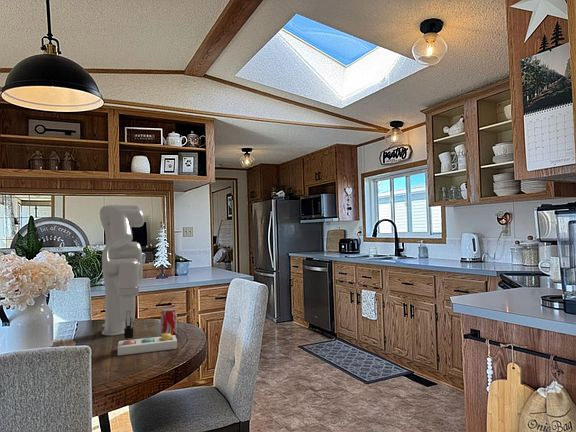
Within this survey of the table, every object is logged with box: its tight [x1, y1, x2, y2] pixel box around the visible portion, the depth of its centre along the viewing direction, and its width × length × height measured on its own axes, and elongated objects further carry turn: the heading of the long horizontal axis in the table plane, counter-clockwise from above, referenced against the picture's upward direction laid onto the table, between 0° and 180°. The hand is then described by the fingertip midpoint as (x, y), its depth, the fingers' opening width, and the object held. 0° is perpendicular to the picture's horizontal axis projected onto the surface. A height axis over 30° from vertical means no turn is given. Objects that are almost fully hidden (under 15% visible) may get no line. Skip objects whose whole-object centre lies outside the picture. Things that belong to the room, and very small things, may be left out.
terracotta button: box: [123, 339, 135, 345], centre depth 159 cm, size 4×4×3 cm
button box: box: [117, 335, 178, 356], centre depth 161 cm, size 22×10×3 cm, turn 110°
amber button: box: [160, 333, 171, 341], centre depth 164 cm, size 4×4×3 cm
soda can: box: [160, 307, 178, 336], centre depth 180 cm, size 7×7×12 cm
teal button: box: [142, 337, 153, 343], centre depth 161 cm, size 4×4×3 cm
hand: (128, 337), depth 159 cm, fingers closed
